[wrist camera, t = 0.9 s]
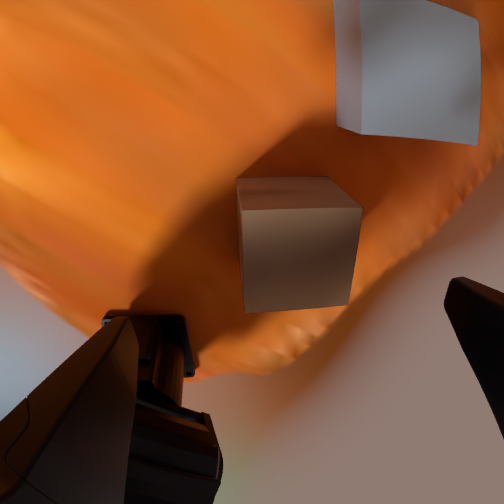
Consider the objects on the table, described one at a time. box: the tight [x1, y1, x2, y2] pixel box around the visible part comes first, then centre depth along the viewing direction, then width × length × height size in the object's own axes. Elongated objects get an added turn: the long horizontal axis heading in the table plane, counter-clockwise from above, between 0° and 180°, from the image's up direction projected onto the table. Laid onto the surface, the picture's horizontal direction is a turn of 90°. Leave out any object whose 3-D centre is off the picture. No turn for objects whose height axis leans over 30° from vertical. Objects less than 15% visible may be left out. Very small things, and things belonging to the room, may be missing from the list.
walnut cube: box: [236, 176, 363, 313], centre depth 18 cm, size 6×6×6 cm
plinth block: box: [333, 0, 481, 146], centre depth 14 cm, size 8×8×4 cm
